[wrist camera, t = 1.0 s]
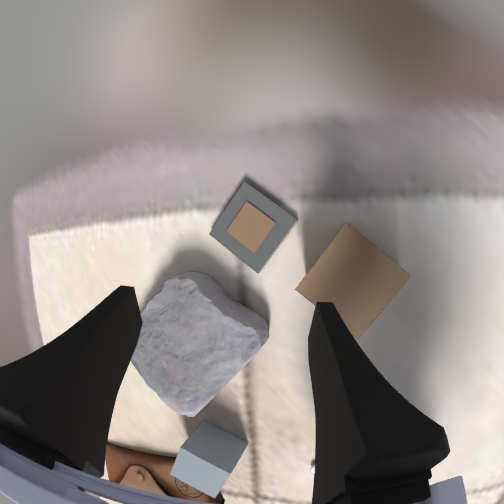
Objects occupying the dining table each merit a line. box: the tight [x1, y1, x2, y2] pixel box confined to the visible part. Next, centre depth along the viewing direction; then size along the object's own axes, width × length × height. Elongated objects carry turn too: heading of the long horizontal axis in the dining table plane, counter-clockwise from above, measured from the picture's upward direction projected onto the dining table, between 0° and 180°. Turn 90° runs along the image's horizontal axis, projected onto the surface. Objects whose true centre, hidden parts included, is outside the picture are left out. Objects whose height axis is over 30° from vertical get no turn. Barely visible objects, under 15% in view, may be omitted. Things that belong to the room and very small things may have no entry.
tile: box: [210, 182, 298, 273], centre depth 24 cm, size 5×5×1 cm
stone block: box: [131, 271, 269, 417], centre depth 26 cm, size 12×5×10 cm
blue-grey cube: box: [170, 420, 248, 498], centre depth 25 cm, size 5×5×5 cm
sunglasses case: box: [105, 442, 225, 504], centre depth 30 cm, size 18×7×7 cm, turn 105°
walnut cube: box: [295, 223, 410, 339], centre depth 20 cm, size 5×5×5 cm
